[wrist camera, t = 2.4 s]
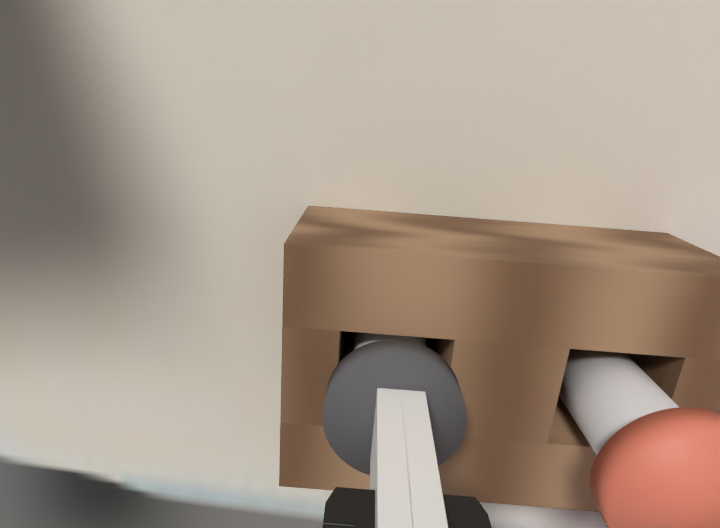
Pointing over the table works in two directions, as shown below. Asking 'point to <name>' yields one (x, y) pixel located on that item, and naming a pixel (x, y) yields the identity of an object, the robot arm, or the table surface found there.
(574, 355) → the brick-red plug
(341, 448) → the black plug
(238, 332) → the table surface
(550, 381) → the walnut block
